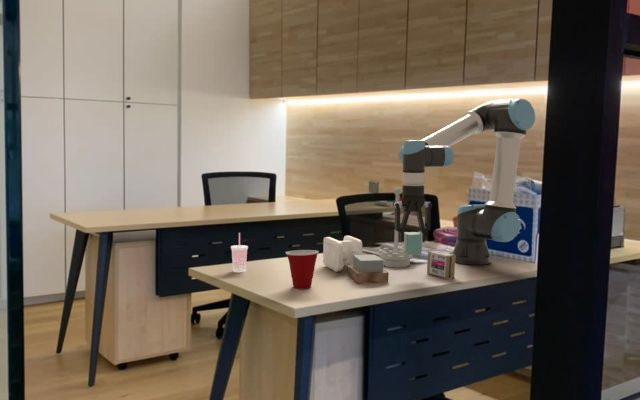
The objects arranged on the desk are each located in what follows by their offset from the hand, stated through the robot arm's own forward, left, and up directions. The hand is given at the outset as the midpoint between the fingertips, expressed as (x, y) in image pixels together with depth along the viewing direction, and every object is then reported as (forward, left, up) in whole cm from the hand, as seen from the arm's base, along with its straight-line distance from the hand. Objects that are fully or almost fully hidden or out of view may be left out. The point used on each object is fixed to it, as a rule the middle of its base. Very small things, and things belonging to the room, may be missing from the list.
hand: (411, 250), depth 215 cm
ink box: (-12, -2, -10) cm, 15 cm away
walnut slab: (+16, 0, -10) cm, 19 cm away
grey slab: (+16, 0, -6) cm, 17 cm away
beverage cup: (+59, -17, -10) cm, 62 cm away
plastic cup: (+40, +9, -10) cm, 43 cm away
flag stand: (-2, -24, -10) cm, 26 cm away
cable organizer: (+21, -17, -10) cm, 29 cm away
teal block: (0, 0, -1) cm, 1 cm away
